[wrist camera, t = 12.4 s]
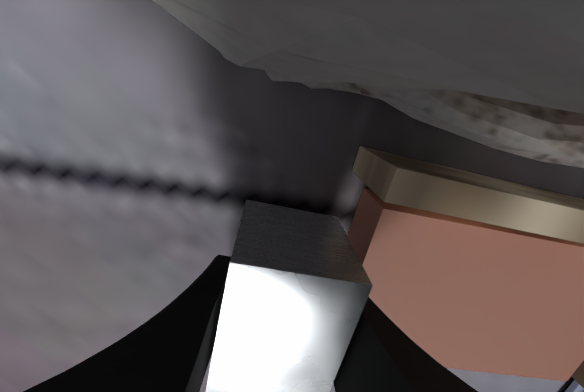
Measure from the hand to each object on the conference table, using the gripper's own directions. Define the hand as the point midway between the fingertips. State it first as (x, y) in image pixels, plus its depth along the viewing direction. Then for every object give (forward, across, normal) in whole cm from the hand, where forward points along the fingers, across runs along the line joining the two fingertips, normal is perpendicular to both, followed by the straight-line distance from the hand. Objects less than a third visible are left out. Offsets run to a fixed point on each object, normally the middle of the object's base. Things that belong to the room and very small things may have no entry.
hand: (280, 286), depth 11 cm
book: (+4, -10, 0) cm, 11 cm away
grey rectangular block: (+2, 0, 0) cm, 2 cm away
